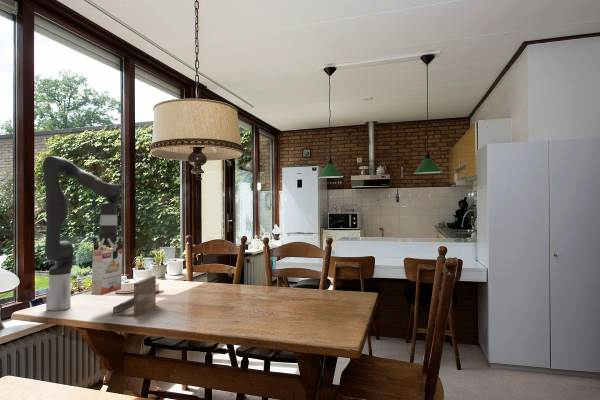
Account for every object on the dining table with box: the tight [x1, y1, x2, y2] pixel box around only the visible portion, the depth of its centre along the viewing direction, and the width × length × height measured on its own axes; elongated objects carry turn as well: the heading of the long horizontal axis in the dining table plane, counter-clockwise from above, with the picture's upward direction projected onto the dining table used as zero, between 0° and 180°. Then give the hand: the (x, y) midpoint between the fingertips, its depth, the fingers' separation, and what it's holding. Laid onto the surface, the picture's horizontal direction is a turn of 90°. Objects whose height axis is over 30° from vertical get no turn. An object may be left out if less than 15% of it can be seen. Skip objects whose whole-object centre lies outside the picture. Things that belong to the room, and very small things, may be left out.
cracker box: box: [91, 247, 123, 296], centre depth 180 cm, size 14×6×21 cm, turn 168°
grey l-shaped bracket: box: [111, 275, 157, 317], centre depth 180 cm, size 12×20×15 cm, turn 179°
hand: (107, 258), depth 180 cm, fingers closed on cracker box, 6 cm apart
